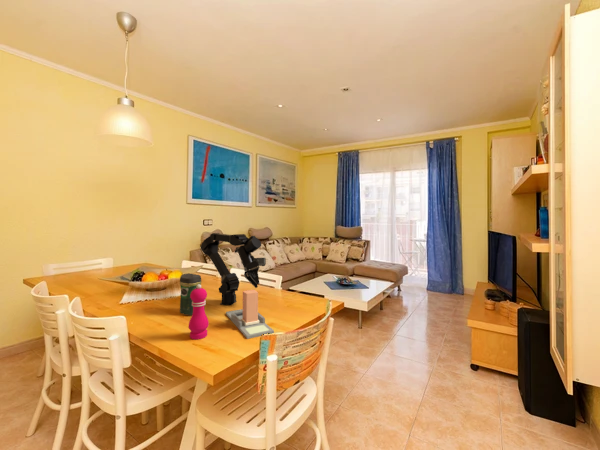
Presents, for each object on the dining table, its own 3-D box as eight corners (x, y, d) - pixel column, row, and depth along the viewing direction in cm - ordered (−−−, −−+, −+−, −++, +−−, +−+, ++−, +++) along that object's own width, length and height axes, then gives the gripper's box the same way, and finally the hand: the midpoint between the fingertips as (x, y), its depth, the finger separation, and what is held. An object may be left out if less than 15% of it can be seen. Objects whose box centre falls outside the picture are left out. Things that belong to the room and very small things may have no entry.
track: (225, 313, 128) (225, 307, 128) (248, 310, 134) (248, 304, 134) (247, 338, 102) (247, 331, 102) (273, 332, 108) (273, 325, 108)
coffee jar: (204, 312, 130) (204, 273, 130) (190, 317, 124) (190, 276, 123) (191, 308, 135) (191, 271, 135) (176, 313, 128) (176, 274, 128)
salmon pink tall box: (241, 320, 116) (241, 290, 116) (254, 318, 119) (254, 289, 119) (245, 325, 111) (245, 294, 111) (259, 323, 114) (259, 292, 114)
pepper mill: (191, 332, 107) (192, 282, 107) (210, 331, 108) (210, 281, 108) (185, 340, 100) (185, 286, 100) (205, 340, 101) (206, 286, 100)
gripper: (263, 245, 130) (275, 275, 126) (259, 256, 147) (270, 283, 143) (240, 253, 126) (253, 284, 122) (239, 263, 143) (250, 291, 139)
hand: (257, 285), depth 131 cm, fingers open, 9 cm apart
